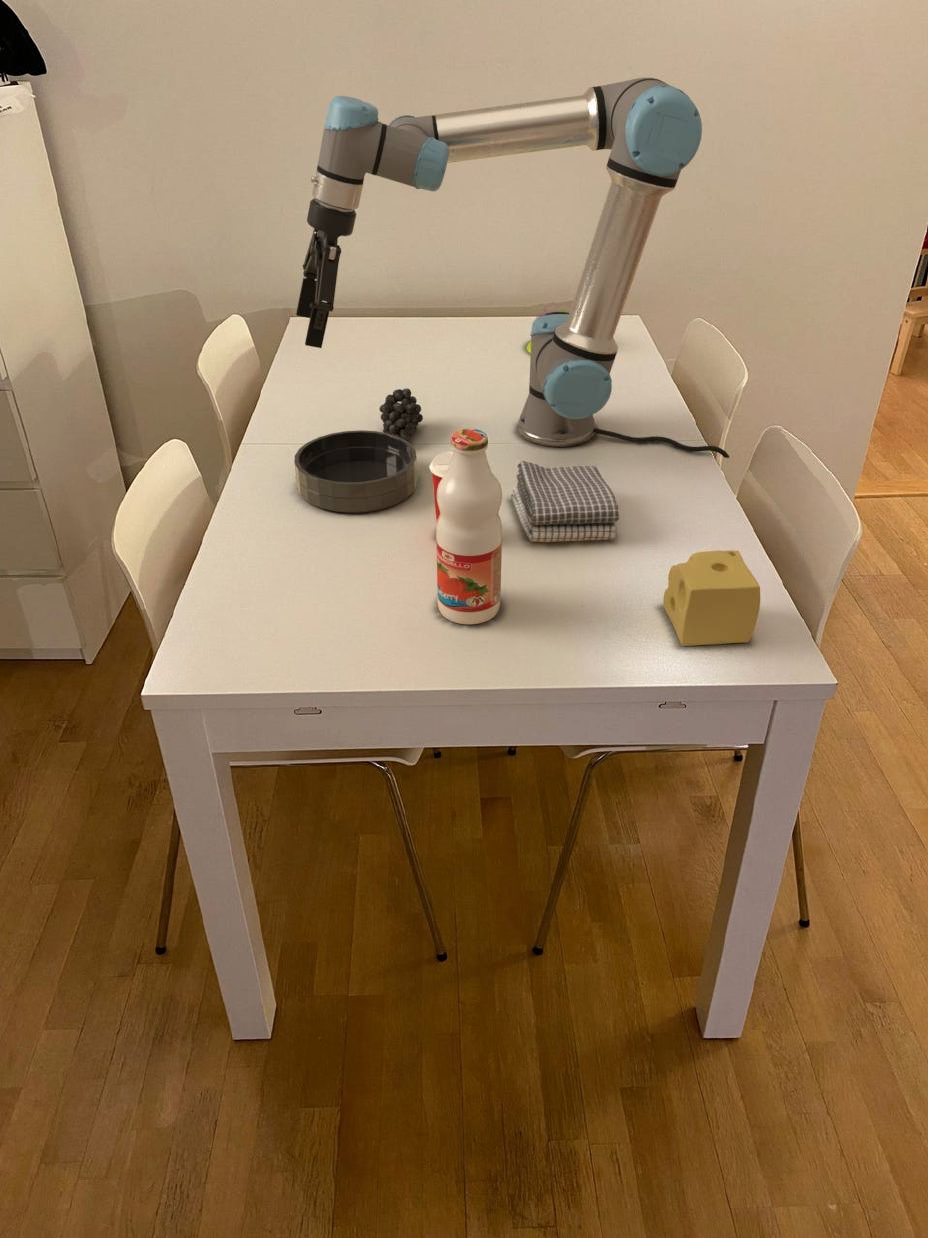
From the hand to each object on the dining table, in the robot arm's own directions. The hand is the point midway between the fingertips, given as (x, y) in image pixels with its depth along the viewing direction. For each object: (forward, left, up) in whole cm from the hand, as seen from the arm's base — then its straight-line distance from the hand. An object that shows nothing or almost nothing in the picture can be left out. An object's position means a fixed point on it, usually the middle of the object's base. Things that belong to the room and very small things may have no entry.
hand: (308, 330), depth 170 cm
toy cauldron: (+1, -81, -27) cm, 85 cm away
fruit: (-2, -20, -27) cm, 33 cm away
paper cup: (-35, +3, -27) cm, 44 cm away
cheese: (-80, 0, -27) cm, 84 cm away
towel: (-46, -13, -27) cm, 54 cm away
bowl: (-10, 0, -27) cm, 28 cm away
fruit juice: (-50, +18, -27) cm, 59 cm away
